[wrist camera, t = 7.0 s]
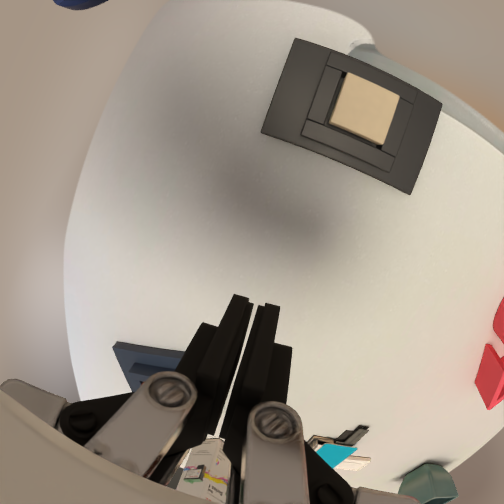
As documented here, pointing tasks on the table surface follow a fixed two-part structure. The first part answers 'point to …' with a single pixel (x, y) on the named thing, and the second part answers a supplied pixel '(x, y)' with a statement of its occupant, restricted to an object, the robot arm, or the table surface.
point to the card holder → (341, 449)
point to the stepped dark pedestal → (341, 141)
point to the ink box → (206, 472)
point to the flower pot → (429, 485)
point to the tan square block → (364, 109)
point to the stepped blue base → (144, 362)
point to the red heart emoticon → (492, 367)
